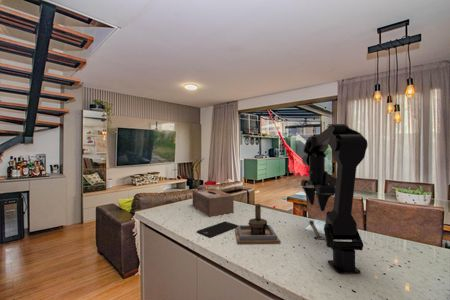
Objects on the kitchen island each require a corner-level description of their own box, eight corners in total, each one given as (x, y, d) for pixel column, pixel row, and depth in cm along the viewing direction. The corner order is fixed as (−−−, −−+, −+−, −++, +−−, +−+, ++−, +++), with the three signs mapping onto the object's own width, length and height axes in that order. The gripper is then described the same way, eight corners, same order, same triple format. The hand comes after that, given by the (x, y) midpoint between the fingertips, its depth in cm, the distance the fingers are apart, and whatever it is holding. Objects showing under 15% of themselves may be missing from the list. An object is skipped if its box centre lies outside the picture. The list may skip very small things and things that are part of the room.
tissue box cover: (192, 206, 137) (192, 190, 137) (213, 203, 144) (213, 188, 144) (209, 217, 114) (209, 198, 114) (233, 213, 121) (233, 195, 121)
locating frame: (277, 240, 83) (277, 236, 83) (240, 240, 82) (240, 236, 82) (269, 228, 95) (269, 225, 95) (237, 228, 94) (237, 225, 94)
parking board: (280, 243, 82) (280, 241, 82) (237, 244, 81) (237, 241, 81) (271, 229, 96) (271, 227, 96) (234, 230, 95) (234, 228, 95)
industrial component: (270, 233, 89) (270, 204, 89) (262, 239, 83) (262, 207, 83) (250, 228, 95) (250, 200, 95) (241, 233, 89) (241, 204, 89)
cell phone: (196, 233, 93) (196, 231, 93) (225, 223, 106) (225, 221, 106) (210, 239, 87) (210, 236, 87) (239, 227, 100) (239, 225, 100)
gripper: (351, 170, 78) (351, 214, 78) (325, 166, 97) (325, 201, 97) (320, 170, 78) (320, 214, 78) (300, 166, 96) (300, 202, 96)
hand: (316, 207), depth 87 cm, fingers open, 9 cm apart
